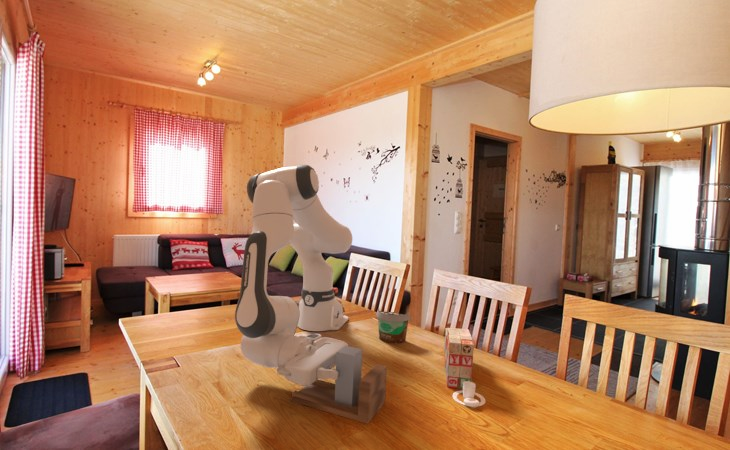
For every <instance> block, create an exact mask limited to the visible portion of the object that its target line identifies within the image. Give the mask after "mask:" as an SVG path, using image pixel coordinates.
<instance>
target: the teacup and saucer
mask: <svg viewBox="0 0 730 450" xmlns="http://www.w3.org/2000/svg"><path fill="white" fill-rule="evenodd" d="M476 385H477V384H476V383H475V382H473V381H471V382H470V381H465V382H463V389H461V390H456V391H455V392H453V394H452V398H453V400H454V401H455V402H456V403H458V404H460V405H463V406H466V407H469V408H470V407H471V408H476V407H481V406H483V405H485V404H486V399H485V397H484V396H483V394H480V393H478V392H476V387H477V386H476ZM459 394H462V396H463V401H461V400H460V399H458V395H459ZM475 396H476V397H478V398H479V399H480V401H479V400H478V399H476V398H474V397H475Z"/></svg>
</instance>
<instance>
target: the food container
mask: <svg viewBox="0 0 730 450" xmlns="http://www.w3.org/2000/svg"><path fill="white" fill-rule="evenodd" d="M375 315H376V316H375V317H377V320H378V321H377V322H378V323H377V324H378V325H377V326H378V339H379V341H382V342H383V343H387V344H392V345H393V344H395V343H397V344H402V343H405V342H406V339H407V331H408V326H409V321H410V320H411V319H412V318H411V315H410V312H408V313H405V314H402V313H398V312H395V311H381V310H380V308H377V311H376V314H375Z"/></svg>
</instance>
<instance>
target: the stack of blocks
mask: <svg viewBox="0 0 730 450" xmlns="http://www.w3.org/2000/svg"><path fill="white" fill-rule="evenodd" d="M444 329H445V330H444V368H445V379H446V387H447V388H452V389H453V388H454V389H461V390H463V382H465V381H470V382H472V371H473V363H474V362H473V361H474V348H475V343H474V340H473V337H472V335H471V333H470V332H471V331H470V330H469V329H468V328H458V327H457V328H455V327H445V328H444Z"/></svg>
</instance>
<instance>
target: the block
mask: <svg viewBox="0 0 730 450" xmlns="http://www.w3.org/2000/svg"><path fill="white" fill-rule="evenodd" d="M362 366H363V349H362V348H358V347H353V346H349V345H348V346H344V347H343V348H341V349H340V350H339V351H337V352H336V366H335V369H338V370H340V377H339V378H338V379H336V380H335V379H334V384H335V402H338V403H341V404H345V405H348V406H352V407H353V406H354V405H355V404H356V402H357V401H358V398H359V381H360V380H361V379H362V371H363V370H362V369H363V368H362Z"/></svg>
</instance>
